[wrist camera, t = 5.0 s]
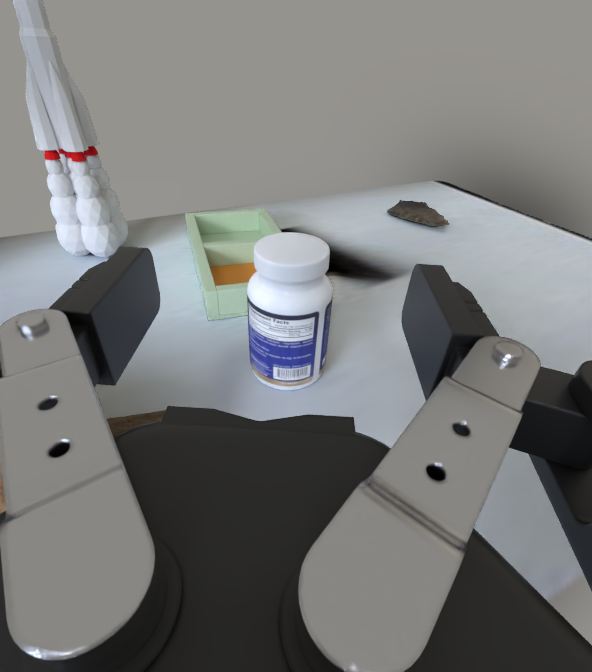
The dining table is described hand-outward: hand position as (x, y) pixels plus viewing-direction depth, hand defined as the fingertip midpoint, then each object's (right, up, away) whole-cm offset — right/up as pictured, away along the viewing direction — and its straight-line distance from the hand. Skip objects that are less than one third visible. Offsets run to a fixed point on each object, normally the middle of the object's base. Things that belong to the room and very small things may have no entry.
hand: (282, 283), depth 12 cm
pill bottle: (0, -4, +17) cm, 18 cm away
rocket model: (-22, +8, +31) cm, 39 cm away
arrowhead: (+19, +16, +45) cm, 51 cm away
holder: (-6, +6, +30) cm, 31 cm away
